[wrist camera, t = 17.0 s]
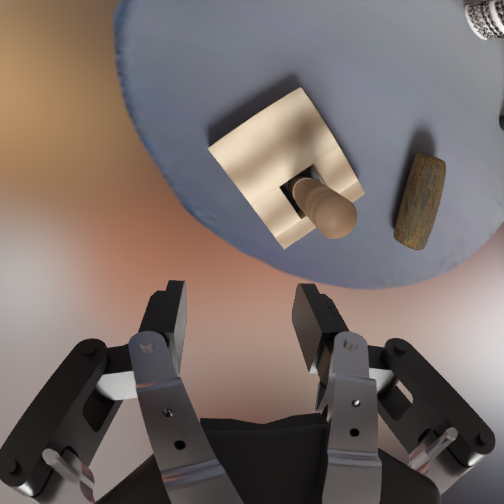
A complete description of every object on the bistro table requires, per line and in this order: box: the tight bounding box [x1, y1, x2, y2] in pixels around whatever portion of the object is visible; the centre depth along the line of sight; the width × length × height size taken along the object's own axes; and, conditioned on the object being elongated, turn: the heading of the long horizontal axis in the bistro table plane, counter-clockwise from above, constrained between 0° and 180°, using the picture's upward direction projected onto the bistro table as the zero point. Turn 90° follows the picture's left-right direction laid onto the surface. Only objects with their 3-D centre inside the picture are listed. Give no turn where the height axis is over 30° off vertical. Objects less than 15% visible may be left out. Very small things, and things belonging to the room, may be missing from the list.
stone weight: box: [394, 152, 446, 250], centre depth 38 cm, size 15×7×7 cm, turn 173°
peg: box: [288, 175, 357, 239], centre depth 32 cm, size 4×4×14 cm
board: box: [208, 87, 365, 249], centre depth 36 cm, size 17×14×3 cm
